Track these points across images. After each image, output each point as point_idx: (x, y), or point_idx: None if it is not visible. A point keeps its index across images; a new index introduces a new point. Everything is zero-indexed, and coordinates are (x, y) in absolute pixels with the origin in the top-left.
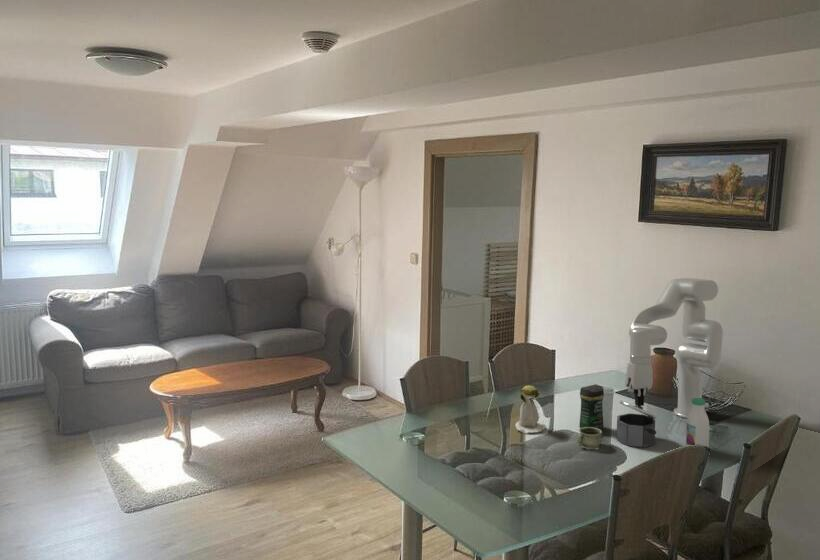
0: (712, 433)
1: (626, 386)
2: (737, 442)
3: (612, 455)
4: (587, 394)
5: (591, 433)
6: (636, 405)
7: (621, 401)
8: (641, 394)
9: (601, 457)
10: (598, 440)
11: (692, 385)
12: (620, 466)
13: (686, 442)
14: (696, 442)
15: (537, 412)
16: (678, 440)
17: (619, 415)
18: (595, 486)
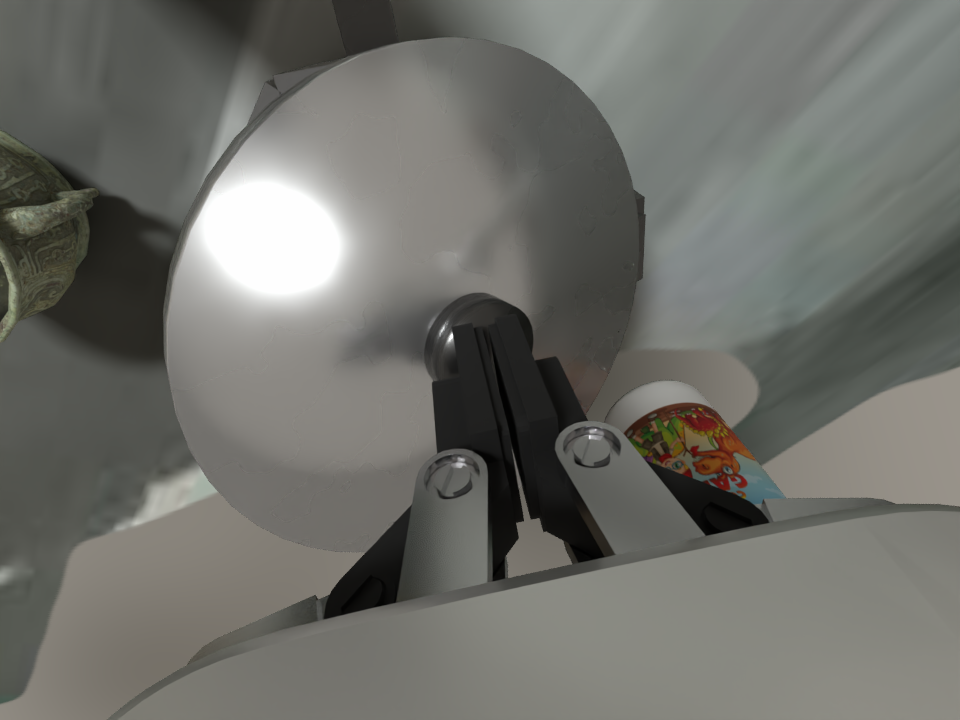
0: (950, 247)
1: (134, 699)
2: (898, 380)
3: (158, 384)
4: None
5: None
6: (439, 375)
7: (166, 360)
8: (546, 522)
9: (74, 395)
10: (19, 319)
11: None
12: (172, 492)
13: (624, 433)
14: None
15: None
16: (682, 288)
17: (292, 80)
18: (7, 603)
